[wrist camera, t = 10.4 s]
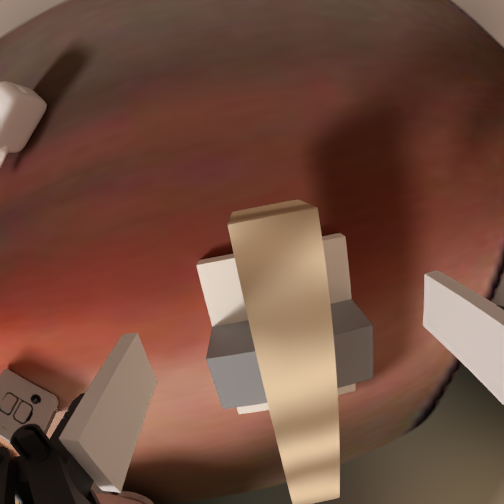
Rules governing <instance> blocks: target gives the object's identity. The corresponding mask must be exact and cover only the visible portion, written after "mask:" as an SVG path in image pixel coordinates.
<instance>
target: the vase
mask: <svg viewBox="0 0 504 504" xmlns="http://www.w3.org/2000/svg"><path fill="white" fill-rule="evenodd" d="M96 496H97V498H98V500H99V502H100V504H154V503H153V502H152V501H151V500H150V499H148V498H146V497H145V496H142V495H140V494H137V493H134V492H129V491H121V493H118V495H111V494H105V493H102V494H96Z"/></svg>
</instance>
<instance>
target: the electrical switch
mask: <svg viewBox="0 0 504 504" xmlns="http://www.w3.org/2000/svg"><path fill="white" fill-rule="evenodd" d="M37 402H38V403H37ZM58 404H59V403H58V399H57V397H56V396H55V395H53V394H51V393H49V392H47V391H46V390H44V389H42V388H40V387H38V386H36V385H34V384H33V383H31V382H29V381H27V380H25V379H24V378H22V377H20V376H19V375H17V374H15V373H14V372H12V371H10V370H9V369H6V370H3V372H2V373H1V375H0V437H2V438H3V439H5V440H6V441H8V442H9V443H10V440H11V437H12V435H13V433H14V432H15V431H16V430H17V429H18V428H20V427H21V426H23V425H26V424H37V425H39V426H40V427H41V429H42V430H43V431H44V433H45V434H46V433H47V431H48V429H49V427H50V425H51V423H52V421H53V419H54V416H55V414H56V408H57V406H58Z"/></svg>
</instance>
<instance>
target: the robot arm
mask: <svg viewBox="0 0 504 504" xmlns="http://www.w3.org/2000/svg"><path fill="white" fill-rule="evenodd" d="M423 326H424V327H425V328H426V329H427V330H428V331H429V332H430V333H431V334H432V335H434V336H435V337H436V338H437V339H438V340H439V341H440V342H441V343H442V344H443V345H444V346H445V347H446V348H447V349H448V350H449V351H450V352H451V353H452V354H453V355H455V356H456V357H457V358H458V359H459V360H460V361H461V362H462V363H463V364H464V365H465V366H466V367H467V368H468V369H469V370H470V371H471V372H472V373H473V374H474V375H475V376H476V377H477V378H478V379H479V380H480V381H481V382H482V383H483V384H484V385H485V386H486V387H487V388H488V389H489V390H490V391H491V392H492V393H493V395H494V396H495V397H497V399H498V400H499V401H500V402H501V403H502V404H504V307H502V306H499V305H495V304H494V303H492V302H490V301H489V300H487V299H485V298H484V297H482V296H481V295H479V294H477V293H476V292H474V291H472V290H471V289H469V288H467V287H466V286H464V285H462V284H460V283H459V282H457V281H455V280H454V279H452V278H450V277H448V276H447V275H445V274H443V273H441V272H440V271H438V270H436V271H432V272H429V273H425V277H424V314H423ZM156 384H157V379H156V377H155V375H154V372H153V370H152V368H151V365H150V363H149V360H148V358H147V355H146V353H145V351H144V348H143V345H142V343H141V340H140V338H139V335H138V333H130V334H123V335H122V336H121V338H120V339H119V341H118V342H117V344H116V345H115V347H114V348H113V350H112V352H111V353H110V355H109V356H108V358H107V359H106V361H105V362H104V364H103V366H102V367H101V369H100V370H99V372H98V374H97V375H96V377H95V378H94V380H93V382H92V383H91V385H90V386H89V388H88V390H87V391H86V393H82V394H80V395H79V396H78V397H77V398H76V399H75V400H74V401H73V402H72V403H71V405H70V407H69V408H68V410H67V411H68V412H66V413H65V415H64V416H63V419H61V421H60V423H59V424H58V426H57V428H56V429H55V431H54V433H53V434H52V436H51V438H50V440H49V438H48V437H47V436H46V434H45V433H44V431H43V430H42V429H41V427H40V426H39V425H37V424H26V425H23V426H21V427H20V428H18V429H17V430H16V431H15V432H14V433H13V435H12V437H11V440H10V443H11V445H12V446H13V447H14V448H15V450H16V451H17V452H18V453H19V455H20V456H17V457H13V455H12V454H11V453H10V452H9V450H8V449H7V448H5V447H0V504H15V499H16V500H17V501H18V502H19V504H100V502H99V500H98V498H97V496H96V494H95V493H94V492H93V490H92V489H91V486H92V484H93V481H94V482H95V483H96V484H97V485H98V487H99V488H100V489H101V490H103V491H110V492H118V493H121V491H122V487H123V484H124V481H125V478H126V474H127V471H128V468H129V465H130V461H131V458H132V455H133V452H134V449H135V446H136V443H137V440H138V437H139V434H140V431H141V428H142V425H143V422H144V419H145V416H146V413H147V410H148V407H149V404H150V401H151V398H152V395H153V392H154V390H155V387H156Z"/></svg>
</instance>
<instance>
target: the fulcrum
mask: <svg viewBox="0 0 504 504" xmlns="http://www.w3.org/2000/svg"><path fill="white" fill-rule="evenodd" d="M322 241H323V248H324V255H325V263H326V271H327V279H328V287H329V296H330V305H331V315H332V325H333V336H334V348H335V361H336V375H337V392H338V395H341V394H345V393H349V392H352V391H356V383H359V382H362V381H366V380H369V379H372V378H373V325H372V323H371V322H370V321H369V320H368V318H367V317H366V316H365V315H364V313H363V312H362V311H361V310H360V309H359V307H358V306H357V305H356V304H355V303H354V301H353V300H352V297H351V285H350V275H349V265H348V255H347V246H346V238H345V236H344V235H342V234H341V233H337V234H331V235H326V236H322ZM196 266H197V270H198V274H199V278H200V282H201V286H202V289H203V293H204V297H205V301H206V305H207V308H208V312H209V316H210V319H211V323H212V332H211V337H210V342H209V347H208V352H207V357H206V360H207V363H208V366H209V369H210V372H211V375H212V378H213V381H214V384H215V387H216V390H217V393H218V396H219V399H220V402H221V405H222V407H223V409H227V408H235V407H237V410H238V413H239V414H244V413H251V412H258V411H264V410H269V407H268V403H267V398H266V394H265V390H264V386H263V382H262V377H261V373H260V369H259V365H258V360H257V356H256V352H255V347H254V343H253V338H252V334H251V330H250V325H249V321H248V316H247V312H246V307H245V303H244V299H243V294H242V289H241V285H240V280H239V276H238V271H237V267H236V262H235V257H234V253H233V254H228V255H223V256H218V257H213V258H208V259H203V260H199V261H198V263H197V265H196Z"/></svg>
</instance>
